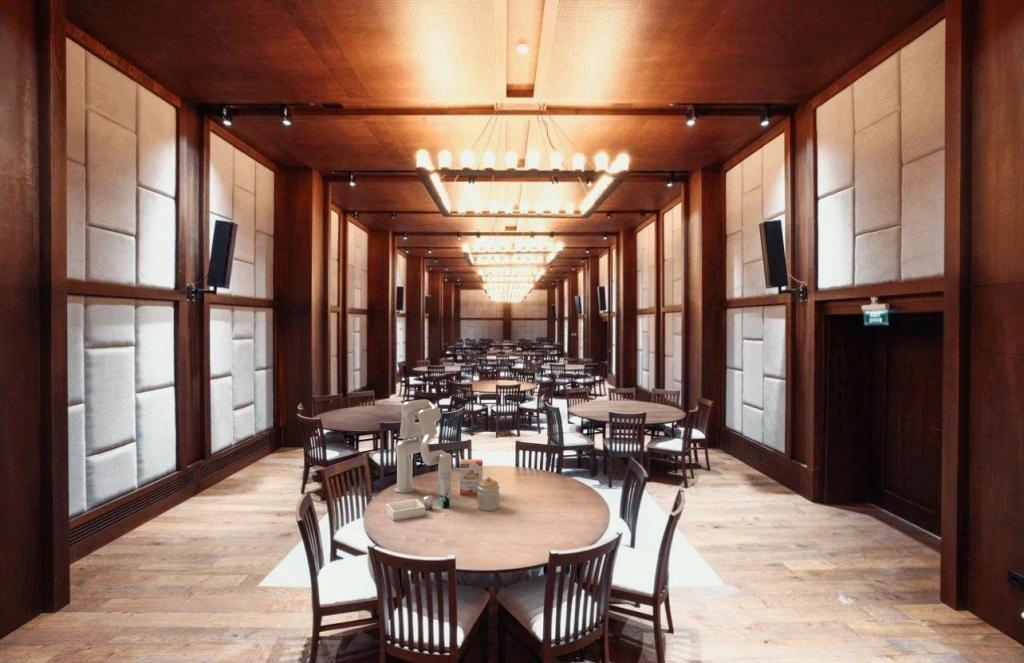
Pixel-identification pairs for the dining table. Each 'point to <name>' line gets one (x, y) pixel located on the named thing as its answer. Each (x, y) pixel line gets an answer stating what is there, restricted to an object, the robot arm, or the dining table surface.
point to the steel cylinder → (428, 502)
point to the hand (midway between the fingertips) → (444, 505)
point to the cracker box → (470, 476)
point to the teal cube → (442, 502)
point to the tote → (405, 509)
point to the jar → (488, 495)
